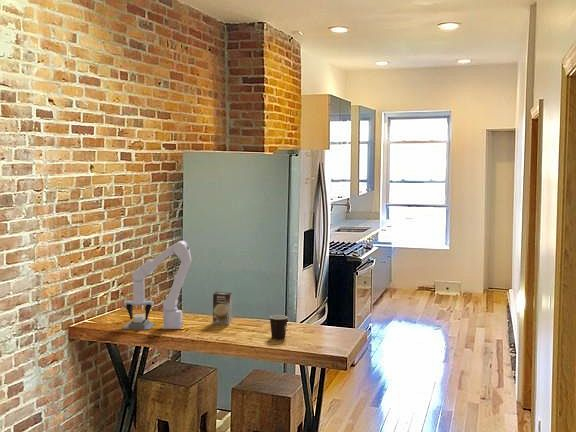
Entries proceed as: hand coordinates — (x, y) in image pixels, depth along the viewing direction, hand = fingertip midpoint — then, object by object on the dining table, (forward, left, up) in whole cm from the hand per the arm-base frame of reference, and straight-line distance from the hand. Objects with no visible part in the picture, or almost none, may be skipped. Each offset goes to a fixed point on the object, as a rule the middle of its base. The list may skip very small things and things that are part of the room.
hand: (139, 319), depth 332 cm
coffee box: (-41, -10, -4) cm, 42 cm away
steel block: (0, 0, -3) cm, 3 cm away
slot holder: (0, 0, -4) cm, 4 cm away
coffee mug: (-70, +17, -4) cm, 72 cm away
